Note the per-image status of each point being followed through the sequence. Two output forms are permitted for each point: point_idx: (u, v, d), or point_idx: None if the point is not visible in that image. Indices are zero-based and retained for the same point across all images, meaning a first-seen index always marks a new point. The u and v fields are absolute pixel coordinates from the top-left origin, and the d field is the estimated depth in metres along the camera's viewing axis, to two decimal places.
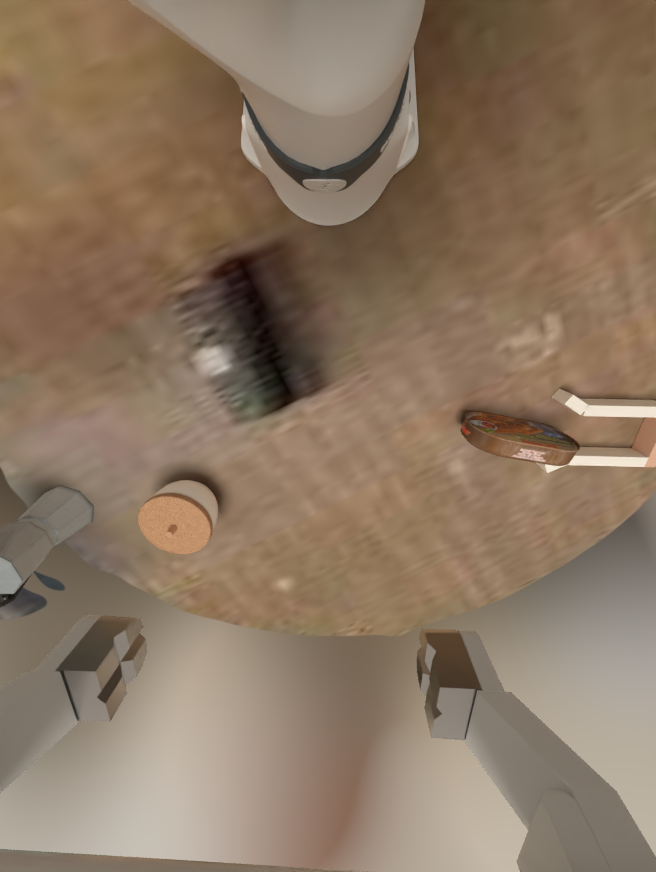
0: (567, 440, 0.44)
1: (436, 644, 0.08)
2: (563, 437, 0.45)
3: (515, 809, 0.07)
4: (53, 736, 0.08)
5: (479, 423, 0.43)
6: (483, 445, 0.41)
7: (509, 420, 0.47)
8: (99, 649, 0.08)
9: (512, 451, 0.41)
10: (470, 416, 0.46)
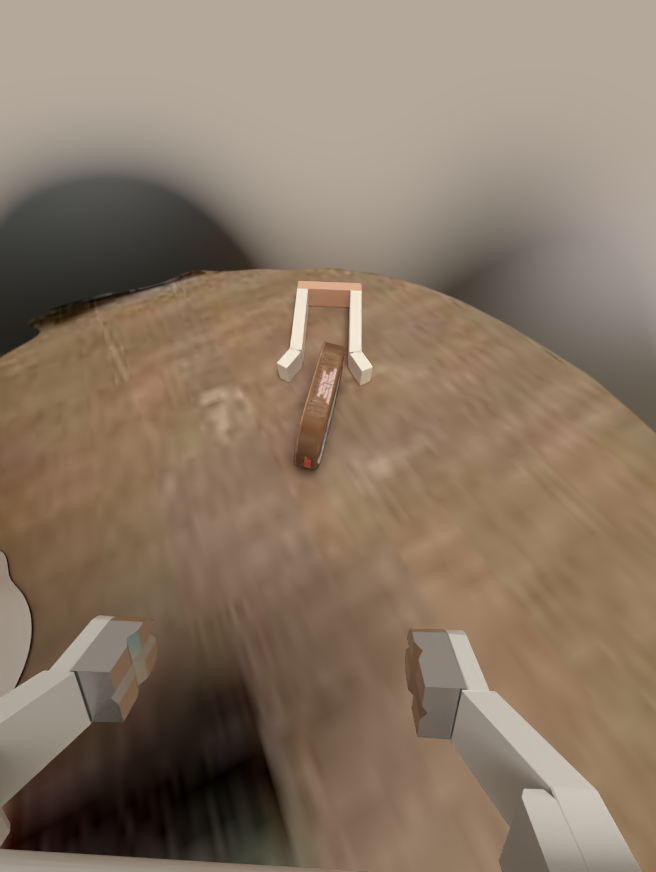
0: None
1: (423, 643, 0.08)
2: None
3: (499, 808, 0.07)
4: (67, 736, 0.08)
5: None
6: (315, 439, 0.31)
7: None
8: (112, 650, 0.08)
9: (320, 404, 0.32)
10: None
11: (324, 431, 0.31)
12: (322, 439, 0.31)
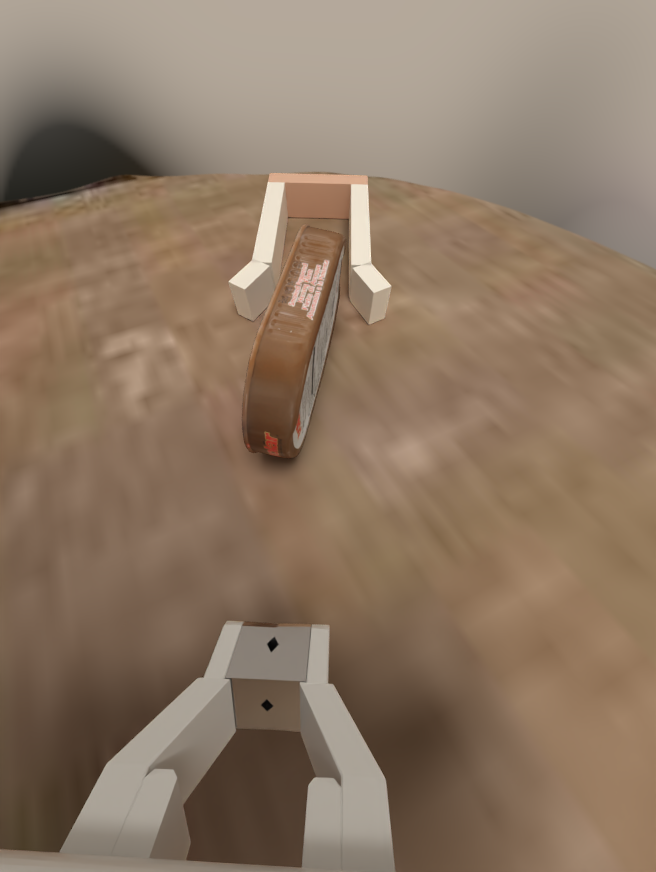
0: None
1: (282, 637, 0.09)
2: None
3: None
4: (220, 745, 0.08)
5: None
6: (283, 390, 0.14)
7: None
8: (258, 656, 0.08)
9: (296, 320, 0.15)
10: None
11: (303, 374, 0.14)
12: (299, 391, 0.14)
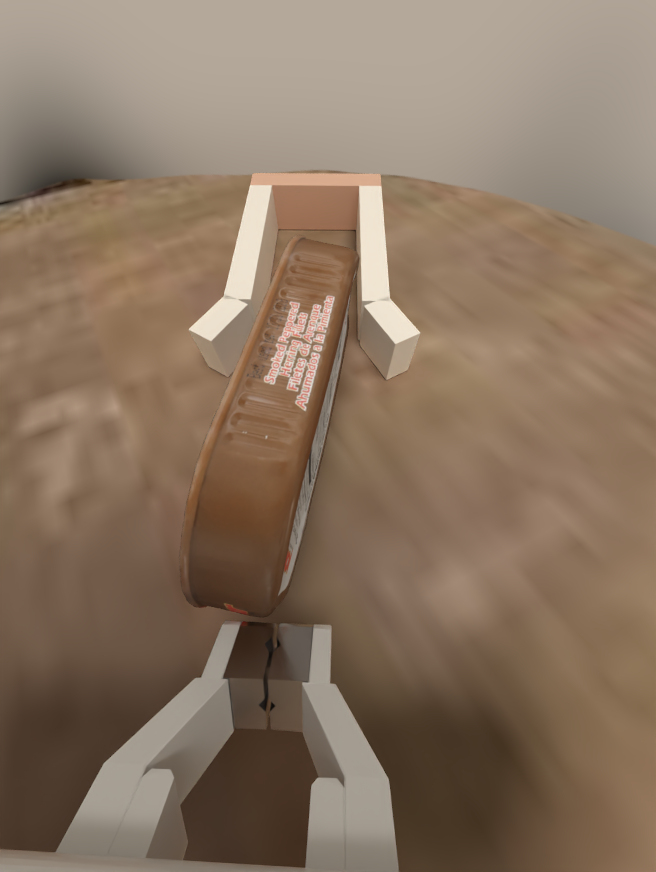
0: None
1: (284, 638, 0.09)
2: None
3: None
4: (218, 745, 0.08)
5: None
6: (252, 551, 0.08)
7: None
8: (256, 656, 0.08)
9: (277, 412, 0.09)
10: None
11: (288, 519, 0.08)
12: (281, 550, 0.08)
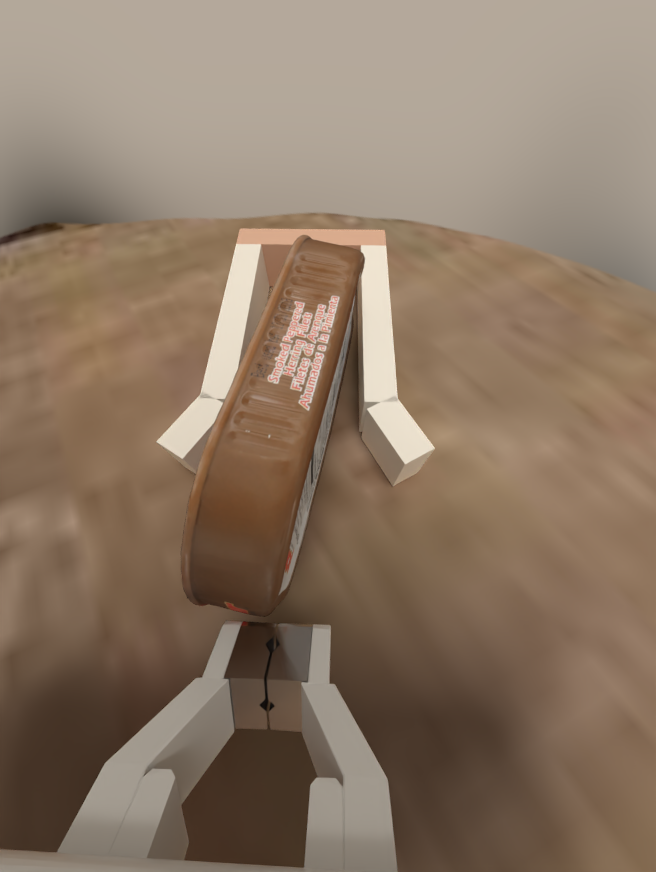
0: None
1: (283, 637, 0.09)
2: None
3: None
4: (219, 745, 0.08)
5: None
6: (253, 550, 0.08)
7: None
8: (257, 656, 0.08)
9: (280, 411, 0.09)
10: None
11: (290, 519, 0.08)
12: (283, 550, 0.08)
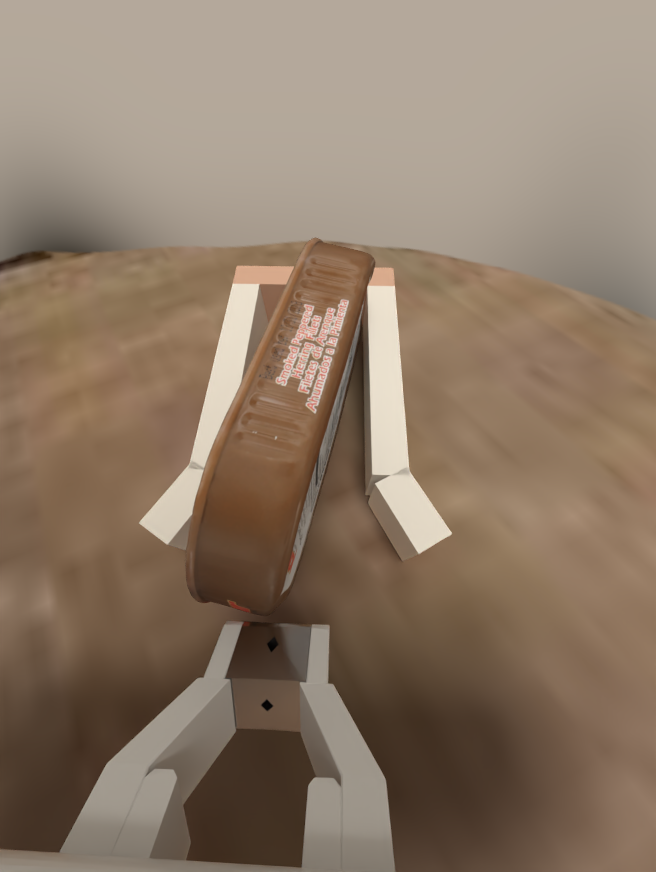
0: None
1: (282, 637, 0.09)
2: None
3: None
4: (220, 745, 0.08)
5: None
6: (257, 550, 0.08)
7: None
8: (258, 656, 0.08)
9: (287, 413, 0.09)
10: None
11: (294, 520, 0.08)
12: (286, 550, 0.08)
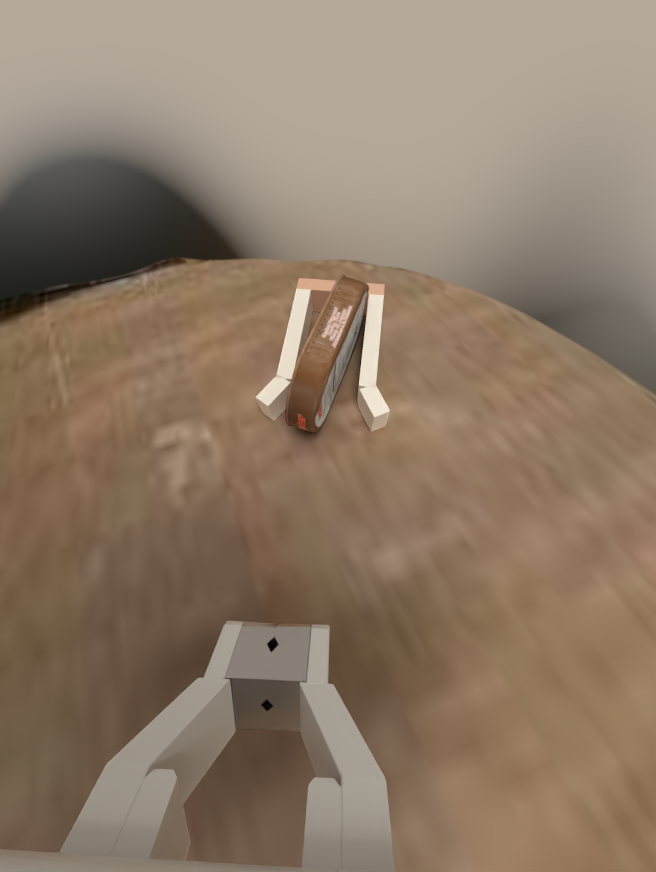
0: None
1: (282, 637, 0.09)
2: None
3: None
4: (220, 744, 0.08)
5: None
6: (312, 390, 0.24)
7: None
8: (258, 656, 0.08)
9: (325, 347, 0.24)
10: None
11: (325, 381, 0.24)
12: (321, 392, 0.24)
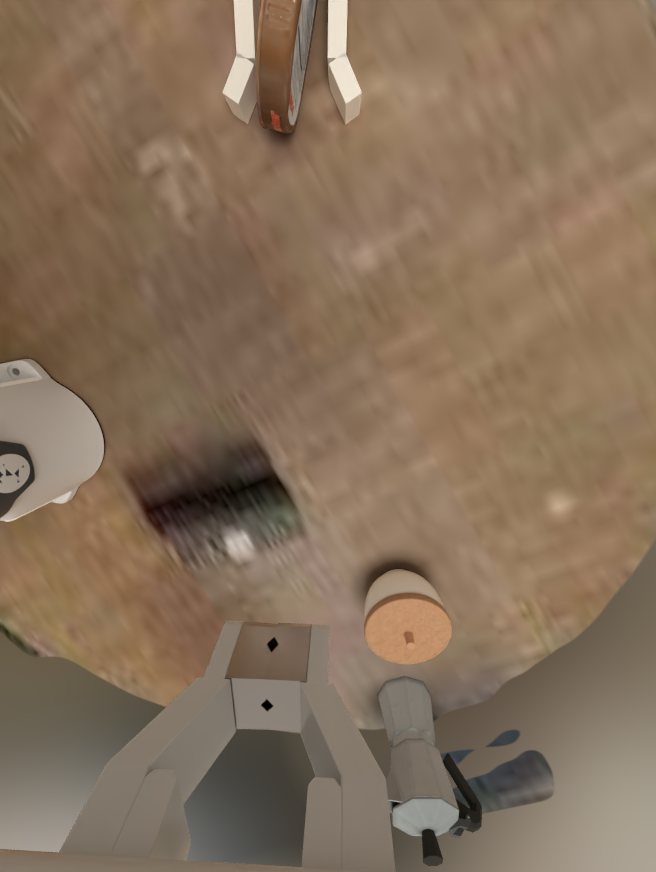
0: None
1: (282, 637, 0.09)
2: None
3: None
4: (220, 744, 0.08)
5: None
6: (280, 76, 0.24)
7: None
8: (258, 656, 0.08)
9: (283, 2, 0.22)
10: None
11: (291, 61, 0.23)
12: (289, 76, 0.24)
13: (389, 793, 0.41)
